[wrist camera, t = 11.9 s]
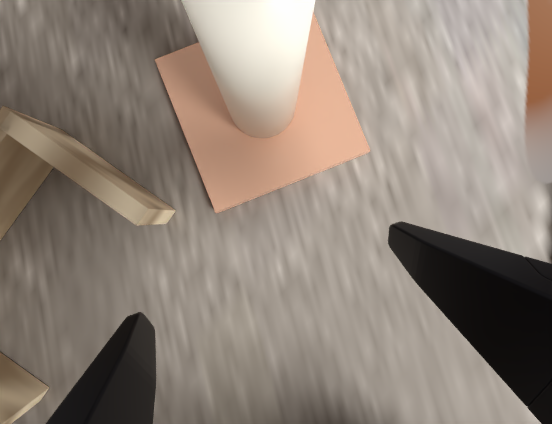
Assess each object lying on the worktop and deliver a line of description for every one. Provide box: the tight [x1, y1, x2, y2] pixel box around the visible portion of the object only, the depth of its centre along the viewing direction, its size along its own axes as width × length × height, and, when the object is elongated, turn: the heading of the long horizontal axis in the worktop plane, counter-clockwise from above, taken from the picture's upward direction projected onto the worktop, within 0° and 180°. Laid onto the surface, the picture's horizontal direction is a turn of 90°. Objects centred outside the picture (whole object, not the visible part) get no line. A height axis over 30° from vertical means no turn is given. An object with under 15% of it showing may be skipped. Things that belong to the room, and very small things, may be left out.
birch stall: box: [0, 106, 176, 424], centre depth 16 cm, size 11×17×4 cm, turn 145°
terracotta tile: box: [155, 12, 370, 213], centre depth 18 cm, size 12×12×1 cm
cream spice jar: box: [181, 0, 315, 138], centre depth 11 cm, size 5×5×13 cm
